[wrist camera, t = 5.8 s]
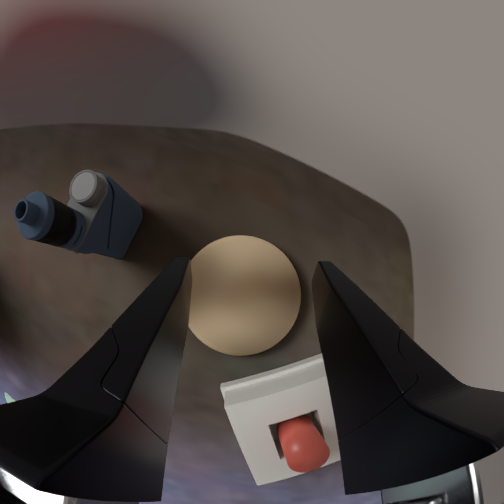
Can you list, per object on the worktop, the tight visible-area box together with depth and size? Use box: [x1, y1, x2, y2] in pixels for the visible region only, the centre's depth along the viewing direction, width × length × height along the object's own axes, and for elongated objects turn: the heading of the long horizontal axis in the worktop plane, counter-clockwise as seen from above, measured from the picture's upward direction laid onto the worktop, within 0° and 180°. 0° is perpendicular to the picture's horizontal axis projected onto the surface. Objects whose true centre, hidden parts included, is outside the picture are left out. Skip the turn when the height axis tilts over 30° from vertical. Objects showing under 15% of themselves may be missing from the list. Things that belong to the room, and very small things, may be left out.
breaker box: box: [220, 353, 341, 486], centre depth 18 cm, size 9×9×4 cm
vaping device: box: [14, 170, 143, 259], centre depth 15 cm, size 3×5×12 cm, turn 154°
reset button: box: [276, 414, 330, 473], centre depth 15 cm, size 3×3×4 cm
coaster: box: [188, 235, 301, 356], centre depth 20 cm, size 9×9×1 cm
